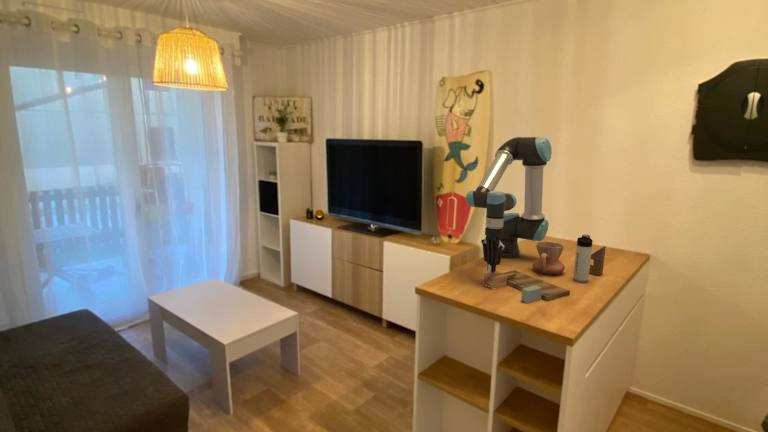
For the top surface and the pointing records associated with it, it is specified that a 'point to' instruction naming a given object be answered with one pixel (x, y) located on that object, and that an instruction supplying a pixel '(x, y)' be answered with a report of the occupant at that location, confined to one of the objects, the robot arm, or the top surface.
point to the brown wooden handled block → (497, 279)
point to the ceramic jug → (549, 258)
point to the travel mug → (582, 259)
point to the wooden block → (597, 260)
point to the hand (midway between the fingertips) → (490, 278)
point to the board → (527, 281)
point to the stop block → (531, 294)
